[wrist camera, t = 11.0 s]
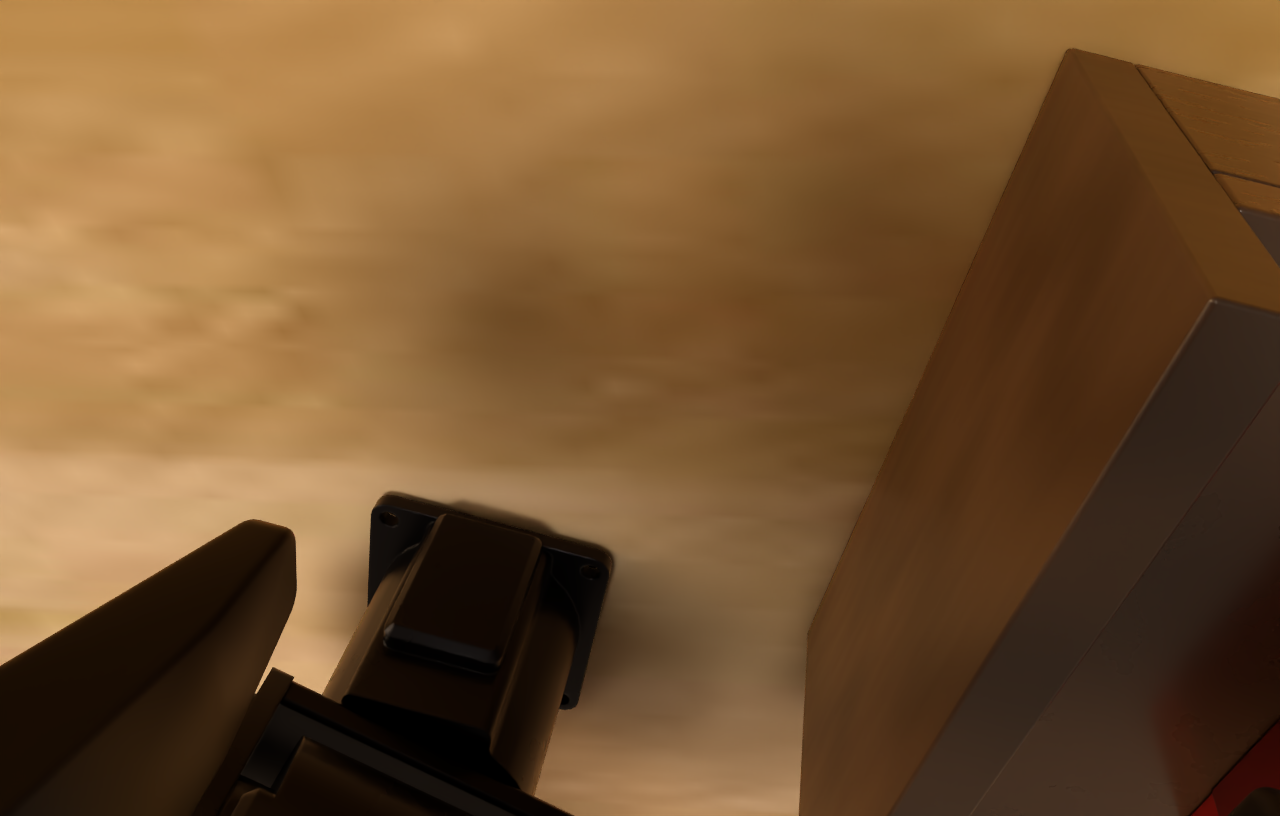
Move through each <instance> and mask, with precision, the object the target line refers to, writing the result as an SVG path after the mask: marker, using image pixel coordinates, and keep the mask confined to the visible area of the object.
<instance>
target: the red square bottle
mask: <svg viewBox="0 0 1280 816" xmlns="http://www.w3.org/2000/svg"><path fill="white" fill-rule="evenodd" d="M1261 787H1271V788H1275V789H1279V790H1280V719H1279V720H1278V721H1277V723H1276V724H1275V725H1274V726H1273V727H1272V728H1271V729H1270V730H1269V731H1268V732H1267V733H1266V734H1265V735H1264V736H1263V737H1262V738H1261V739H1260V740H1259V741H1258V742H1257V744H1256V745H1255V746H1254V747H1253V748H1252V749H1251V750H1250V751H1249V752H1248V753H1247V754H1246V755H1245V756H1244V757H1243V758H1242V759H1241V760H1240V761H1239V762H1238V763H1237V765H1236V766H1235V767H1234V768H1233V769H1232V770H1231V771H1230V772H1229V773H1228V774H1227V775H1226V776H1225V777H1224V778H1223V779H1222V780H1221V781H1220V782H1219V783H1218V784H1217V786H1216V787H1215V788H1214V789H1213V790H1212V794H1211V795H1210V796H1209V797H1208V798H1207V799H1206V800H1205V801H1204V802H1203V803H1202V804H1201V805H1200V806H1199V807H1198V809H1197V810H1196V811H1195V812H1194V813H1193V814H1192V815H1191V816H1228V815H1229V814H1230V813H1231V812H1232V811H1233V810H1234V809H1235V808H1236V807H1237V806H1238V805H1239V804H1240V803H1241V802H1242V801H1243V800H1244V799H1245V798H1246V797H1247V796H1248V795H1249V794H1250V793H1251V792H1252V791H1253V790H1255V789H1257V788H1261Z"/></svg>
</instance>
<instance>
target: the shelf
mask: <svg viewBox="0 0 1280 816" xmlns="http://www.w3.org/2000/svg"><path fill="white" fill-rule="evenodd" d="M1279 719H1280V99H1276V98H1272V97H1268V96H1264V95H1260V94H1256V93H1252V92H1248V91H1244V90H1240V89H1236V88H1232V87H1228V86H1223V85H1219V84H1215V83H1211V82H1207V81H1203V80H1199V79H1195V78H1191V77H1187V76H1183V75H1179V74H1175V73H1171V72H1167V71H1163V70H1159V69H1155V68H1151V67H1147V66H1143V65H1135V66H1134V65H1133V64H1132V63H1130V62H1126V61H1122V60H1118V59H1114V58H1110V57H1106V56H1102V55H1098V54H1094V53H1090V52H1086V51H1082V50H1078V49H1073V48H1072V49H1069V50H1068V51H1067V52H1066V55H1065V57H1064V59H1063V61H1062V64H1061V66H1060V68H1059V70H1058V72H1057V75H1056V77H1055V79H1054V81H1053V84H1052V86H1051V88H1050V90H1049V93H1048V95H1047V97H1046V99H1045V102H1044V104H1043V106H1042V108H1041V111H1040V113H1039V115H1038V117H1037V120H1036V122H1035V124H1034V126H1033V129H1032V131H1031V133H1030V135H1029V138H1028V140H1027V142H1026V144H1025V147H1024V149H1023V151H1022V153H1021V155H1020V158H1019V160H1018V162H1017V164H1016V167H1015V169H1014V171H1013V173H1012V176H1011V178H1010V180H1009V182H1008V185H1007V187H1006V189H1005V191H1004V194H1003V196H1002V198H1001V200H1000V203H999V205H998V207H997V209H996V212H995V214H994V216H993V218H992V221H991V223H990V225H989V227H988V230H987V232H986V234H985V236H984V238H983V241H982V243H981V245H980V247H979V250H978V252H977V254H976V256H975V259H974V261H973V263H972V265H971V268H970V270H969V272H968V274H967V277H966V279H965V281H964V283H963V286H962V288H961V290H960V292H959V295H958V297H957V299H956V301H955V304H954V306H953V308H952V310H951V313H950V315H949V317H948V319H947V321H946V324H945V326H944V328H943V330H942V333H941V335H940V337H939V339H938V342H937V344H936V346H935V348H934V351H933V353H932V355H931V357H930V360H929V362H928V364H927V366H926V369H925V371H924V373H923V375H922V378H921V380H920V382H919V384H918V387H917V389H916V391H915V393H914V396H913V398H912V400H911V402H910V405H909V407H908V409H907V411H906V413H905V416H904V418H903V420H902V422H901V425H900V427H899V429H898V431H897V434H896V436H895V438H894V440H893V443H892V445H891V447H890V449H889V452H888V454H887V456H886V458H885V461H884V463H883V465H882V467H881V470H880V472H879V474H878V476H877V479H876V481H875V483H874V485H873V488H872V490H871V492H870V494H869V496H868V499H867V501H866V503H865V505H864V508H863V510H862V512H861V514H860V517H859V519H858V521H857V523H856V526H855V528H854V530H853V532H852V535H851V537H850V539H849V541H848V544H847V546H846V548H845V550H844V553H843V555H842V557H841V559H840V562H839V564H838V566H837V568H836V571H835V573H834V575H833V577H832V579H831V582H830V584H829V586H828V588H827V591H826V593H825V595H824V597H823V600H822V602H821V604H820V606H819V609H818V611H817V613H816V615H815V618H814V620H813V622H812V624H811V627H810V629H809V631H808V637H807V658H806V679H805V699H804V720H803V740H802V761H801V781H800V802H799V816H1191V815H1192V814H1193V813H1194V812H1195V811H1196V810H1197V809H1198V807H1199V806H1200V805H1201V804H1202V803H1203V802H1204V801H1205V800H1206V799H1207V798H1208V797H1209V796H1210V795H1211V794H1212V790H1213V789H1214V788H1215V787H1216V786H1217V784H1218V783H1219V782H1220V781H1221V780H1222V779H1223V778H1224V777H1225V776H1226V775H1227V774H1228V773H1229V772H1230V771H1231V770H1232V769H1233V768H1234V767H1235V766H1236V765H1237V763H1238V762H1239V761H1240V760H1241V759H1242V758H1243V757H1244V756H1245V755H1246V754H1247V753H1248V752H1249V751H1250V750H1251V749H1252V748H1253V747H1254V746H1255V745H1256V744H1257V742H1258V741H1259V740H1260V739H1261V738H1262V737H1263V736H1264V735H1265V734H1266V733H1267V732H1268V731H1269V730H1270V729H1271V728H1272V727H1273V726H1274V725H1275V724H1276V723H1277V721H1278V720H1279Z"/></svg>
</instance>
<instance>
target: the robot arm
mask: <svg viewBox="0 0 1280 816" xmlns="http://www.w3.org/2000/svg"><path fill="white" fill-rule="evenodd" d="M388 512H390V513H392V514H394V515H395V516H393V515H391V514H389V513H388ZM587 565H591V566H594V567H596V568H597V569H594V568H590V567H588V566H587ZM611 568H612V561H611V559H610V557H609V556H608V555H607V554H606V553H605V552H603V551H601V550H599V549H596V548H592V547H588V546H585V545H581V544H577V543H573V542H569V541H566V540H562V539H558V538H554V537H550V536H547V535H543V534H539V533H535V532H531V531H528V530H524V529H520V528H516V527H512V526H509V525H505V524H501V523H497V522H493V521H490V520H486V519H482V518H478V517H474V516H471V515H467V514H463V513H459V512H455V511H452V510H448V509H444V508H440V507H436V506H433V505H429V504H425V503H421V502H417V501H414V500H410V499H406V498H402V497H398V496H393V495H386V496H382V497H381V498H380V499H379V500H378V501H377V503H376V505H375V506H374V508H373V510H372V513H371V529H370V554H369V580H368V606H367V610H366V612H365V613H364V615H363V617H362V619H361V621H360V623H359V625H358V627H357V629H356V631H355V633H354V635H353V636H352V638H351V640H350V642H349V644H348V646H347V648H346V650H345V652H344V654H343V656H342V657H341V659H340V661H339V663H338V665H337V667H336V669H335V671H334V673H333V675H332V677H331V679H330V680H329V682H328V684H327V686H326V688H325V690H324V692H323V694H322V695H321V694H319V693H317V692H315V691H313V690H311V689H308V688H306V687H304V686H302V685H300V684H298V683H296V682H294V681H292V680H293V679H294V677H293V676H291V675H289V674H287V673H285V672H283V671H281V670H278V669H276V668H274V667H273V668H272V669H271V671H270V673H269V674H268V676H267V678H266V679H265V681H264V683H263V684H262V686H261V688H260V689H259V691H258V693H257V694H255V691H256V689H257V687H258V685H259V682H260V680H261V678H262V676H263V673H264V671H265V669H266V667H267V665H268V662H269V660H270V658H271V656H272V653H273V651H274V649H275V647H276V645H277V642H278V640H279V638H280V636H281V633H282V631H283V629H284V627H285V624H286V622H287V620H288V618H289V616H290V613H291V611H292V608H293V605H294V601H295V597H296V591H297V578H296V541H295V536H294V534H293V532H292V531H291V529H288V528H287V527H283V526H280V525H276V524H272V523H268V522H264V521H261V520H255V519H252V520H247V521H244V522H242V523H240V524H238V525H237V526H235V527H233V528H232V529H230V530H228V531H227V532H225V533H223V534H221V535H220V536H218V537H216V538H215V539H213V540H211V541H210V542H208V543H206V544H205V545H203V546H201V547H200V548H198V549H196V550H195V551H193V552H191V553H189V554H188V555H186V556H184V557H183V558H181V559H179V560H178V561H176V562H174V563H173V564H171V565H169V566H168V567H166V568H164V569H163V570H161V571H159V572H158V573H156V574H154V575H152V576H151V577H149V578H147V579H146V580H144V581H142V582H141V583H139V584H137V585H136V586H134V587H132V588H131V589H129V590H127V591H126V592H124V593H122V594H120V595H119V596H117V597H115V598H114V599H112V600H110V601H109V602H107V603H105V604H104V605H102V606H100V607H99V608H97V609H95V610H94V611H92V612H90V613H88V614H87V615H85V616H83V617H82V618H80V619H78V620H77V621H75V622H73V623H72V624H70V625H68V626H67V627H65V628H63V629H62V630H60V631H58V632H57V633H55V634H53V635H51V636H50V637H48V638H46V639H45V640H43V641H41V642H40V643H38V644H36V645H35V646H33V647H31V648H30V649H28V650H26V651H25V652H23V653H21V654H19V655H18V656H16V657H14V658H13V659H11V660H9V661H8V662H6V663H4V664H3V665H1V666H0V816H574V815H572V814H570V813H567V812H565V811H563V810H561V809H559V808H557V807H555V806H553V805H551V804H549V803H547V802H544V801H542V800H540V799H538V798H536V797H534V794H535V791H536V787H537V784H538V780H539V777H540V773H541V770H542V766H543V763H544V759H545V756H546V752H547V749H548V745H549V742H550V738H551V735H552V731H553V728H554V724H555V721H556V717H557V714H558V710H559V709H563V710H568V709H572V708H574V707H576V705H577V703H578V700H579V696H580V692H581V688H582V684H583V680H584V676H585V672H586V668H587V664H588V660H589V656H590V652H591V648H592V644H593V640H594V636H595V632H596V628H597V624H598V620H599V616H600V612H601V608H602V604H603V600H604V596H605V592H606V588H607V584H608V580H609V576H610V572H611ZM1228 816H1280V790H1279V789H1275V788H1271V787H1261V788H1257V789H1255V790H1253V791H1252V792H1251V793H1250V794H1249V795H1248V796H1247V797H1246V798H1245V799H1244V800H1243V801H1242V802H1241V803H1240V804H1239V805H1238V806H1237V807H1236V808H1235V809H1234V810H1233V811H1232V812H1231V813H1230V814H1229V815H1228Z"/></svg>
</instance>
